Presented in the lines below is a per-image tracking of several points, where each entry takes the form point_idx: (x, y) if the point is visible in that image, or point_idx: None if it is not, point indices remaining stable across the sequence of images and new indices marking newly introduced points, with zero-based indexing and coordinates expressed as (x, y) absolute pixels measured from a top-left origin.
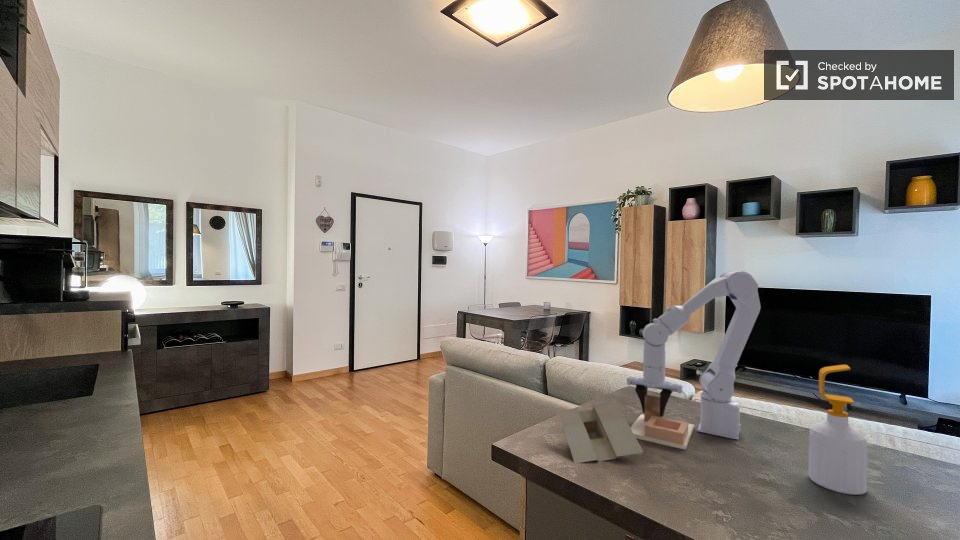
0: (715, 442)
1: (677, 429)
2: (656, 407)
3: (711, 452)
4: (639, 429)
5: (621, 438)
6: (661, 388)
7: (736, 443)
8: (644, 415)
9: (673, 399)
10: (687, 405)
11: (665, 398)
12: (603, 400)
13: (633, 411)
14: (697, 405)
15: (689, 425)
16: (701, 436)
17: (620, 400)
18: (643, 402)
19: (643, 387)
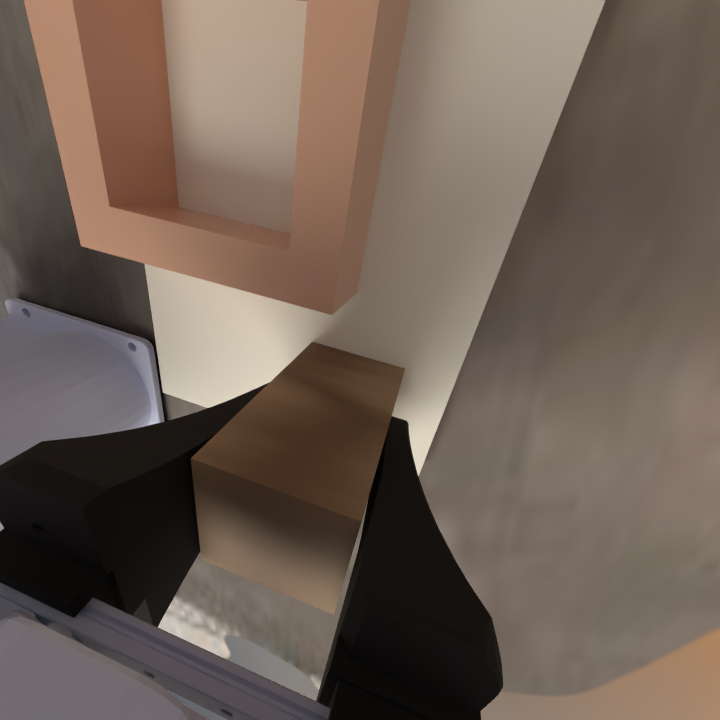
0: (61, 222)
1: (180, 212)
2: (278, 406)
3: (14, 8)
4: (457, 146)
5: None
6: (87, 623)
7: (6, 255)
8: (398, 389)
9: (290, 643)
10: (243, 599)
11: (114, 444)
12: (611, 658)
13: (454, 537)
14: (216, 599)
15: (176, 375)
16: (128, 284)
17: (506, 651)
18: (390, 471)
19: (350, 695)
